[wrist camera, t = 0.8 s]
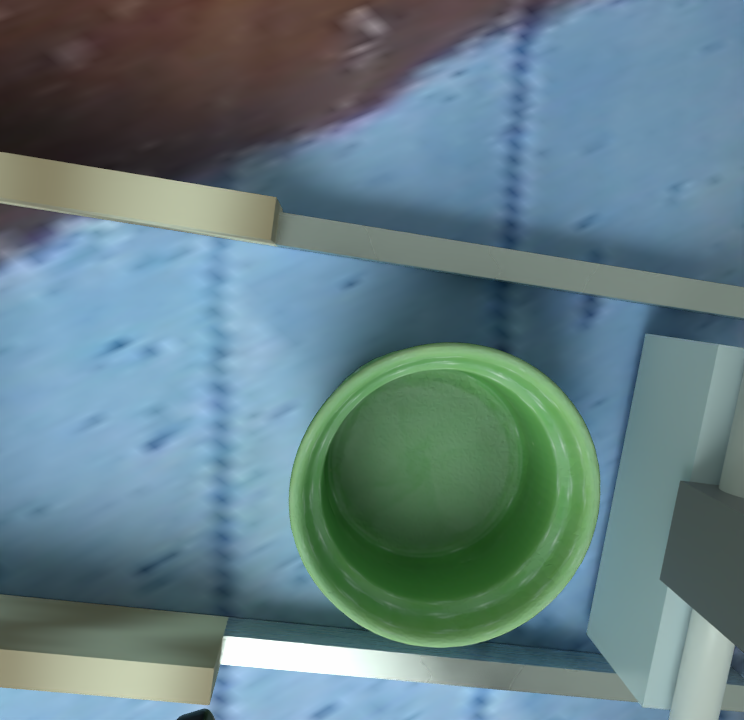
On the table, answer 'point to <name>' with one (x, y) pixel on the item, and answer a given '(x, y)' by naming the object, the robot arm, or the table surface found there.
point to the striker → (677, 531)
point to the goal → (278, 639)
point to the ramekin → (444, 494)
